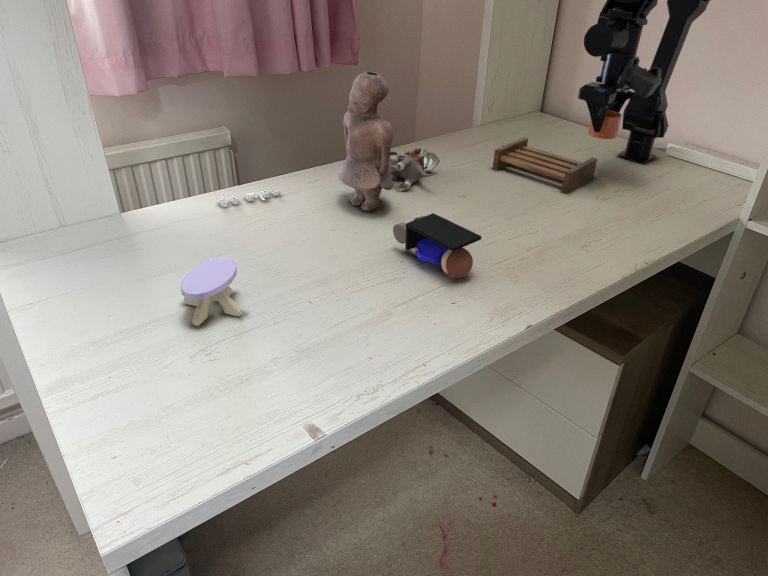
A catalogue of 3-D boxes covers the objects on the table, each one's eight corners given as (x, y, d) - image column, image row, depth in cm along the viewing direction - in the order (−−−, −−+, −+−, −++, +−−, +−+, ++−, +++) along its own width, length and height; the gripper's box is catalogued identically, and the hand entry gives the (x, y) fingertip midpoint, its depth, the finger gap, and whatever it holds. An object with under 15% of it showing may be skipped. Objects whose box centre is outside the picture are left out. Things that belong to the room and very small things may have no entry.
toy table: (214, 283, 93) (210, 251, 90) (260, 302, 90) (257, 268, 87) (165, 315, 86) (158, 280, 83) (213, 336, 82) (208, 301, 79)
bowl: (595, 128, 132) (599, 107, 130) (620, 134, 129) (626, 113, 127) (583, 134, 129) (587, 112, 126) (609, 141, 125) (614, 119, 123)
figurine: (346, 151, 128) (391, 132, 140) (347, 178, 131) (391, 157, 143) (428, 168, 118) (469, 146, 130) (427, 198, 121) (467, 173, 133)
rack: (520, 155, 144) (523, 137, 142) (593, 178, 134) (597, 158, 132) (492, 168, 137) (494, 149, 134) (566, 193, 127) (570, 173, 124)
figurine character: (390, 258, 104) (452, 288, 94) (388, 216, 101) (452, 242, 90) (419, 247, 108) (482, 274, 98) (419, 206, 105) (484, 230, 94)
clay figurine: (325, 200, 120) (323, 68, 106) (364, 187, 126) (366, 61, 112) (368, 224, 112) (371, 84, 98) (408, 209, 118) (416, 76, 104)
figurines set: (275, 192, 122) (274, 179, 121) (281, 197, 120) (280, 184, 119) (216, 204, 117) (215, 190, 115) (221, 210, 115) (220, 196, 113)
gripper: (643, 65, 109) (621, 149, 118) (679, 51, 122) (657, 128, 130) (585, 54, 116) (568, 135, 124) (625, 42, 128) (607, 116, 136)
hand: (603, 128), depth 128 cm, fingers closed on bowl, 6 cm apart
